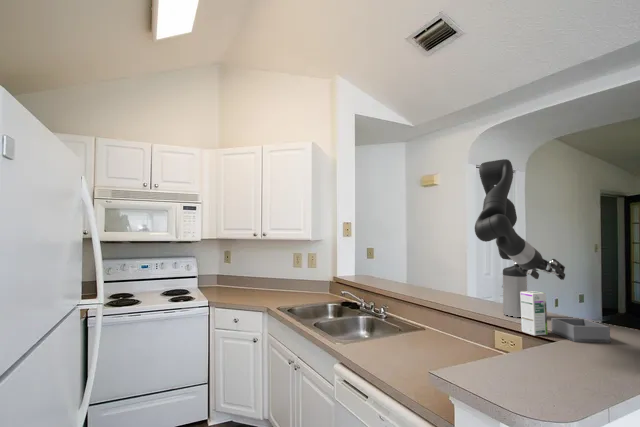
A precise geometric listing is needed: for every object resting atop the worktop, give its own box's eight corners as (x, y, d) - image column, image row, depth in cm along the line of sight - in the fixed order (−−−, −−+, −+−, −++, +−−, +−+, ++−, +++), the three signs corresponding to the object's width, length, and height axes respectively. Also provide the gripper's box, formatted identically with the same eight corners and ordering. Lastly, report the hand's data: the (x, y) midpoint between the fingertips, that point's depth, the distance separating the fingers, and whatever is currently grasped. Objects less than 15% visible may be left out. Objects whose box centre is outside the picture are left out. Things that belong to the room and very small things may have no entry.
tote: (551, 332, 126) (551, 318, 127) (584, 332, 126) (584, 318, 126) (573, 341, 115) (573, 326, 115) (610, 342, 115) (609, 327, 115)
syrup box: (534, 335, 121) (533, 293, 122) (520, 331, 127) (519, 290, 128) (547, 334, 123) (546, 292, 124) (533, 330, 128) (532, 290, 129)
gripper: (547, 242, 112) (574, 267, 118) (505, 245, 125) (531, 267, 130) (542, 263, 110) (570, 287, 115) (500, 263, 122) (527, 285, 127)
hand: (550, 277), depth 123 cm, fingers open, 8 cm apart
